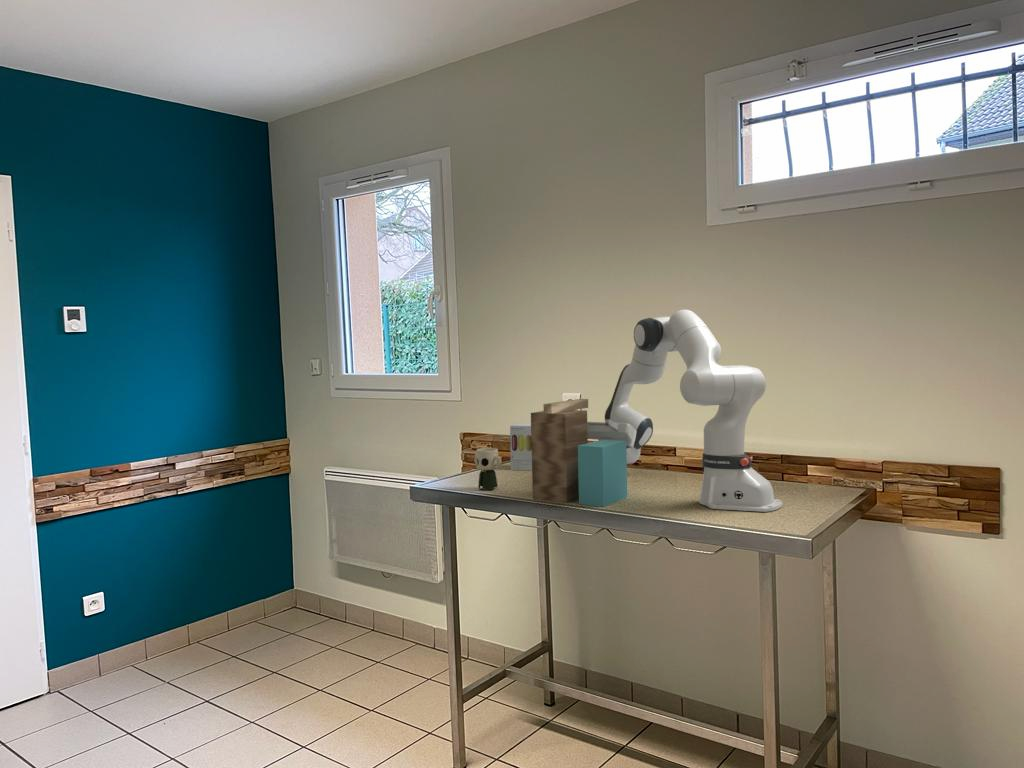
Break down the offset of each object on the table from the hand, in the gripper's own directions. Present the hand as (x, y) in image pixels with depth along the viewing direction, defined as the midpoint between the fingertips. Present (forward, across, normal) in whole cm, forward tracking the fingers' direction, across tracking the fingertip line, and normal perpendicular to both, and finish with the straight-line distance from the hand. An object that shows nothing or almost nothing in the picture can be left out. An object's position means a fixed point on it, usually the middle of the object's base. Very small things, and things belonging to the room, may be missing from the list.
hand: (594, 420), depth 252 cm
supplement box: (-28, -41, +9) cm, 50 cm away
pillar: (+8, 0, +29) cm, 30 cm away
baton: (+17, 0, +4) cm, 18 cm away
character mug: (+8, -28, +29) cm, 41 cm away
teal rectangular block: (+8, +14, +29) cm, 33 cm away
